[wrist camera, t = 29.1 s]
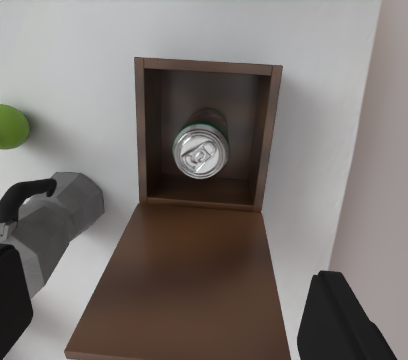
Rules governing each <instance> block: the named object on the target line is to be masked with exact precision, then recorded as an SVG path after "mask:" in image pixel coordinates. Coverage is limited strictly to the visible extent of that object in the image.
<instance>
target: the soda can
mask: <svg viewBox="0 0 408 360" xmlns="http://www.w3.org/2000/svg"><path fill="white" fill-rule="evenodd" d="M229 154H230V149H229V138H228V126H227V122H226V119H225V118H224V116H223V115H222V114H221V113H220V112H219V111H217V110H215V109H212V108H202V109H199V110H197V111H195V112H194V113H193V114H192V115H191V116H190V117H189V119H188V120H187V122H186V123H185V124H184V126H183V127H182V129H181V130H180V131H179V133H178V134H177V136H176V137H175V139H174V142H173V146H172V155H173V159H174V162H175V164H176V166H177V167H178V168H179V169H180V170H181V171H182V172H183V173H184V174H185V175H187V176H188V177H191V178H193V179H207V178H211V177H214V176H215V175H217V174H219V173H220V172H221V171H222V170H223V169H224V168H225V166H226V164H227V162H228V159H229Z"/></svg>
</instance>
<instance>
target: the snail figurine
mask: <svg viewBox="0 0 408 360" xmlns="http://www.w3.org/2000/svg"><path fill="white" fill-rule="evenodd" d="M28 135H29V123H28V121H27V119H26V117H25V116H24V115H23V114H22V113H21V112H20V111H19V110H17V109H15V108H13V107H11V106H8V105H3V104H0V149H13V148H16V147H18V146H20V145H21V144H23V143H24V142H25V141H26V139H27V137H28Z"/></svg>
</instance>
